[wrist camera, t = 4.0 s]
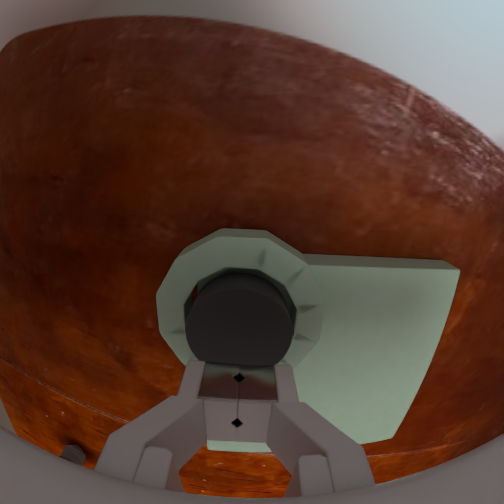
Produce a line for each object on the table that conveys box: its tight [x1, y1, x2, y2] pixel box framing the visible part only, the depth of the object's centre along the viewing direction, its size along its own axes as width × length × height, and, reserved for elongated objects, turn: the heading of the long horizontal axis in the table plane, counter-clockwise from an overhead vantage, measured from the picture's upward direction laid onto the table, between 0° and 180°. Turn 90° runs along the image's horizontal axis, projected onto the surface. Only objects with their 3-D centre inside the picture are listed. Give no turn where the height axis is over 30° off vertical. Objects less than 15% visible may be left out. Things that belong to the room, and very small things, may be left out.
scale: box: [156, 228, 460, 452], centre depth 14 cm, size 15×16×4 cm
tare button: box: [185, 272, 293, 365], centre depth 11 cm, size 4×4×2 cm
